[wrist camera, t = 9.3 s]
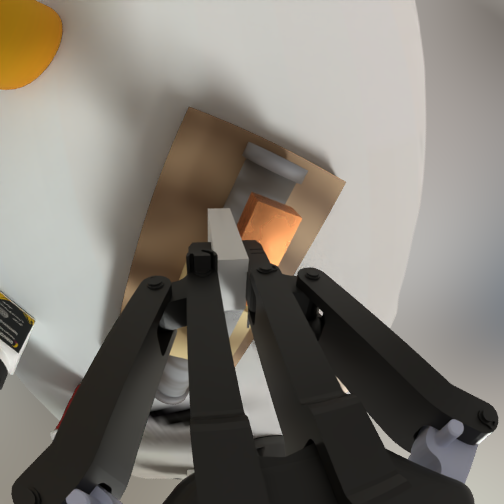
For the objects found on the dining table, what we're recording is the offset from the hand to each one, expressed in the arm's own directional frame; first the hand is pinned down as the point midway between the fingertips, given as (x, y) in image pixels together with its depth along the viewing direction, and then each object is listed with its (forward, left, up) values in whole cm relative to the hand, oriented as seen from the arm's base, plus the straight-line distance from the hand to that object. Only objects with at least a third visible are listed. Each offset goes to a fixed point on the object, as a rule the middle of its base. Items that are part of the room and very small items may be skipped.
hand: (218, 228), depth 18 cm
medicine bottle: (-26, +22, -9) cm, 36 cm away
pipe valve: (-9, -3, -9) cm, 13 cm away
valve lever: (-4, -3, 0) cm, 5 cm away
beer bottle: (+9, +25, -9) cm, 28 cm away
